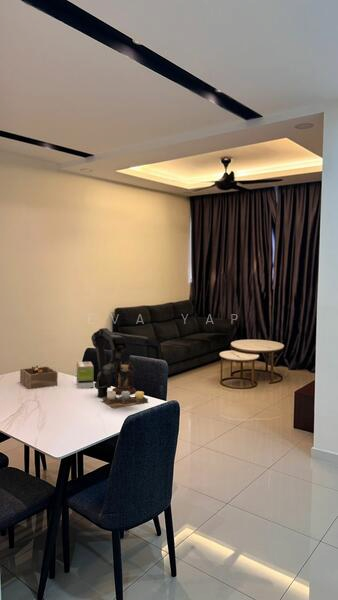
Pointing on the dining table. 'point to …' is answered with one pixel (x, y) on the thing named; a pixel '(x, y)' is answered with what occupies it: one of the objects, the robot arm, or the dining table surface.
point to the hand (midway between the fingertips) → (115, 385)
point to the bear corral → (38, 378)
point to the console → (123, 402)
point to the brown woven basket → (128, 382)
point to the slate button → (125, 395)
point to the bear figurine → (36, 370)
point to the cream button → (111, 395)
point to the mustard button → (139, 395)
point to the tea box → (85, 374)
